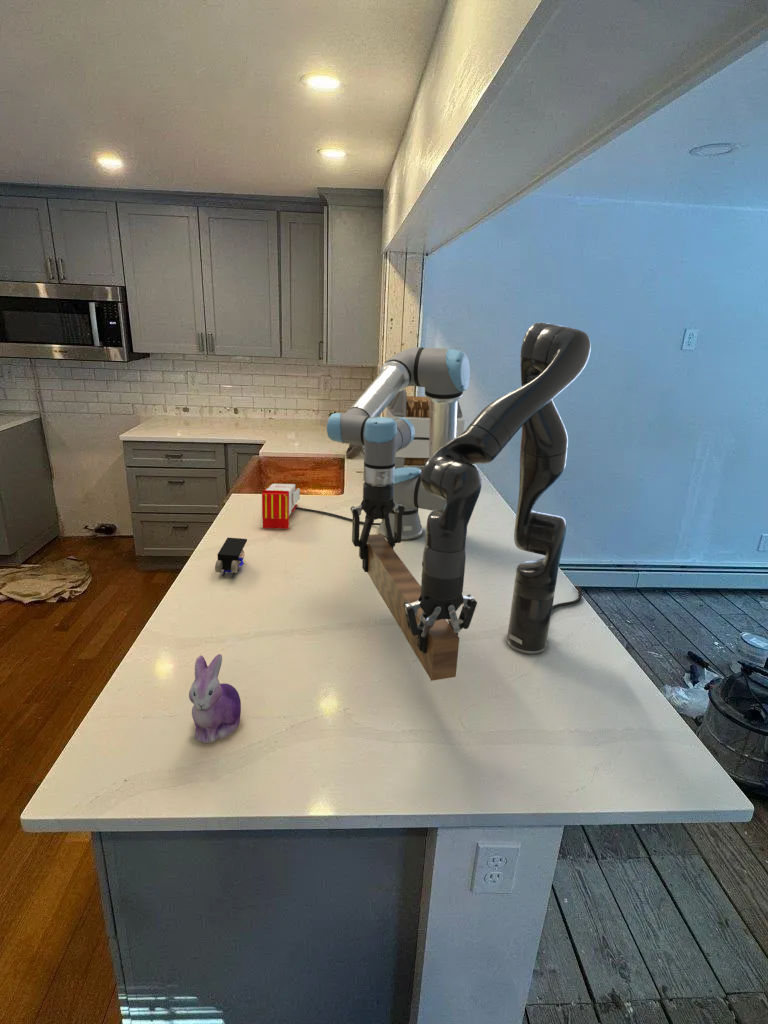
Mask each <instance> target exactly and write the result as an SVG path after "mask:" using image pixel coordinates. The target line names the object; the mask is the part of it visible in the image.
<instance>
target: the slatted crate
mask: <svg viewBox="0 0 768 1024" xmlns="http://www.w3.org/2000/svg"><path fill="white" fill-rule="evenodd" d="M407 394H408V393H407V390H406V389H404V390H402V391H399V392H398V393H397V394H396V396H395V397H394V398H393V399H392V401H391V402H390V403H389V405H388V406H387V407H386V413H385V414H386V415H385V417H387V418H392V419H394V418H406V419H408V420H409V421H410V422H411V423H412V424H413V426H414V429H415V436H414V439H413V441H412V442H411V443H410V444H409V445H408V446H407V447H405V448H403V449H401V450H399V451H397V452H396V456H395V469H397V468H403V467H405V466H406V467H417V466H418V467H424V465H425V463H426V461H427V460H428V459H429V417H430V400H429V399H428V398H427V397H426V396H415V395H414V396H413V395H412V396H411V395H407ZM464 429H465V419H464V418H463V411H462V408H461V405H460V402H459V400H458V401H457V427H456V437H457V436H459V435H461V434H462V433H463V432H464V431H465V430H464Z"/></svg>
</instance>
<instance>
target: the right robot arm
mask: <svg viewBox="0 0 768 1024" xmlns="http://www.w3.org/2000/svg"><path fill="white" fill-rule="evenodd" d="M591 349H592V344H591V338H590V336H589V335H588V333H586V332H585V331H584V330H581V329H579V328H574V327H569V326H564V325H559V324H554V323H547V322H535V323H534V324H532V325H531V326H530V327H529V328H528V329H527V330H526V332H525V334H524V337H523V339H522V342H521V347H520V357H519V362H520V363H519V365H520V384H521V386H520V387H518V388H515V389H514V390H511V391H510V392H507V393H506V394H504V395H502V396H500V397H497V398H496V399H495V400H493V401H491V402H490V403H489V404H488V405H487V406H485V407H484V408H483V409H481V411H480V412H479V413H478V415H476V417H475V418H474V419H473V421H472V422H471V423H470V424H468V426H467V427H466V429H465V430H464V432H463V433H462V434H461V435H459V436H457V437H456V438H454V439H453V440H451V441H450V442H449V443H447V444H446V445H444V446H443V447H442V448H440V449H439V450H437V451H436V452H435V453H434V454H433V455H432V456H431V457H430V458H429V459H428V460H427V461H426V463H425V465H424V466H422V469H421V484H422V486H423V488H424V489H425V490H426V491H427V492H429V493H431V494H433V495H435V496H438V497H440V498H443V499H445V500H446V501H447V504H446V508H445V509H437V510H434V511H432V510H431V512H430V513H429V514H428V516H427V520H426V527H425V543H424V549H423V554H422V561H421V567H422V568H421V581H420V586H421V595H420V597H419V599H418V601H416V602H413V603H409V602H405V603H404V604H403V606H404V610H405V615H406V620H407V624H408V628H409V629H410V631H411V633H412V634H413V635H414V636H416V635H417V646H418V648H419V650H420V651H421V652H422V653H423V654H424V653H427V643H428V636H427V635H428V632H429V630H430V628H431V627H433V625H434V623H435V621H437V620H440V619H446V620H447V622H448V623H449V625H450V626H451V627H452V629H453V630H454V631H455V633H456V634H457V635H458V636H459V632H461V630H463V629H464V630H467V629H469V628H470V625H471V622H472V619H473V617H474V613H475V612H476V608H477V605H478V601H477V600H476V598H475V597H473V596H472V595H471V594H467V595H463V592H464V581H465V570H466V560H467V553H466V546H467V545H466V544H467V537H468V535H467V534H468V527H469V523H470V520H471V517H472V515H473V512H474V509H475V507H476V505H477V502H478V499H479V497H480V495H481V490H482V483H483V482H482V477H481V472H480V471H479V469H478V467H477V466H475V465H476V464H477V465H478V464H479V465H481V464H482V465H483V464H489V463H492V462H493V461H494V460H495V459H496V458H497V456H499V455H500V453H501V452H502V451H503V449H504V448H505V447H506V445H508V444H509V443H510V441H511V440H512V439H513V437H514V436H515V435H516V434H517V433H518V431H519V430H520V429H521V435H520V443H519V445H520V447H519V483H518V498H517V506H516V507H517V508H516V514H515V523H514V530H513V531H514V532H513V540H514V545H515V548H517V549H518V550H521V551H524V552H527V553H532V554H537V555H541V556H544V557H542V558H538V559H530V560H526V561H521V562H520V563H518V565H517V566H516V571H515V576H514V585H513V591H512V599H511V607H510V614H509V620H508V628H507V629H508V630H507V635H506V640H505V641H506V644H507V645H508V647H510V648H511V649H512V650H514V651H516V652H519V653H521V654H526V655H538V654H542V653H544V652H545V651H546V650H547V641H548V635H549V630H550V624H551V619H552V612H554V611H555V610H556V609H558V608H561V607H568V606H572V605H573V606H574V605H577V604H579V603H580V602H581V601H582V599H583V592H582V588H581V586H580V585H576V586H575V589H576V590H577V593H578V596H577V598H576V599H575V600H570V601H565V602H560V603H556V604H554V599H555V593H556V588H557V587H556V586H557V580H558V576H559V575H558V574H559V567H560V562H561V556H562V552H563V548H564V544H565V539H566V535H567V534H566V533H567V522H566V519H565V517H563V516H560V515H555V514H549V513H545V512H541V511H540V512H539V511H536V510H535V511H534V506H535V504H536V503H537V502H538V500H539V499H540V498H541V497H542V495H543V494H544V493H545V492H546V491H547V490H548V489H549V488H550V487H551V486H552V485H554V484H555V482H557V480H558V479H559V478H560V477H561V475H563V473H564V471H565V469H566V467H567V466H566V465H567V458H568V446H569V435H568V432H567V429H566V426H565V424H564V422H563V419H562V418H561V414H560V413H559V411H558V408H557V407H556V405H555V402H554V399H555V398H556V397H557V396H558V395H559V394H561V392H562V391H563V390H565V389H566V388H568V386H570V385H571V384H572V383H573V382H574V381H575V380H576V379H577V378H578V377H579V376H580V374H581V373H582V372H583V370H584V369H585V368H586V365H587V364H588V361H589V359H590V355H591V351H592V350H591ZM420 607H421V609H422V610H423V612H422V614H421V616H420V622H419V624H418V625H417V622H416V617H415V615H417V613H418V609H419V608H420ZM460 607H461V610H460V613H459V616H458V615H457V611H458V610H459V608H460Z"/></svg>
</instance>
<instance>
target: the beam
mask: <svg viewBox="0 0 768 1024" xmlns="http://www.w3.org/2000/svg"><path fill="white" fill-rule="evenodd" d="M366 545H367V547H368V548H369V550H368V572H366V573H367V575H368V576H369V578H370V580H371V581H372V583H373V585H374V587H375V589H376V590H377V592H378V594H379V595H380V596H381V598H382V600H383V602H384V604H385V605H386V607H387V609H388V610H389V612H390V614H391V615H392V618H393V619H394V621H395V622H396V624H397V625H398V628H399V629H400V631H401V632H402V634H403V636H404V637H405V639H406V641H407V642H408V644H409V646H410V647H411V649H412V651H413V653H414V654H415V656H416V658H417V659H418V661H419V663H420V665H421V666H422V668H423V670H424V671H425V673H426V674H427V676H428V678H429V680H430V681H431V682H434V681H439V680H446V679H452V678H456V677H457V669H458V657H459V648H460V647H459V646H460V637H459V634H458V635H457V634H456V633H455V631H454V630H453V629H452V627H451V626H450V625H449V622H448V620H447V619H440V620H437V621H435V623H434V625H433V627H431V628H430V630H429V632H428V635H427V636H428V643H427V653H424V654H423V653H422V652H421V651H420V650H419V648H418V646H417V635H416V636H414V635H413V634H412V633H411V631H410V629H409V628H408V624H407V620H406V615H405V610H404V606H403V604H404V603H405V602H409V603H413V602H416V601H418V599H419V597H420V595H421V584H420V583H419V582H418V580H417V579H416V577H415V576H414V575H413V574H412V572H411V571H410V570H409V569H408V567H407V566H406V564H405V563H404V562H403V561H402V559H401V558H400V556H399V555H398V554H397V552H396V551H395V550H394V548H393V549H392V547H391V546H390V545H389V543H388V542H387V538H386V537H384V536H383V535H382V534H380V533H374V534H369V537H368V540H367V544H366ZM422 612H423V610H422V609H421V607H420V608H419V609H418V613H417V615H415V617H416V622H417V625H418V624H419V622H420V616H421V614H422Z"/></svg>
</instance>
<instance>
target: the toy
mask: <svg viewBox="0 0 768 1024" xmlns="http://www.w3.org/2000/svg"><path fill="white" fill-rule="evenodd" d="M300 499H301V490H300V487H298V488H297V489H296V484H295V483H272V484H270V485H269V486H268V488H266V489H262V491H261V519H262V529H282V530H283V529H284V530H285V529H286V530H289V529H290V515H291V513H294V512H295V510H297V509H296V507H298V504H297V503H298V502H299V501H300Z"/></svg>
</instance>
